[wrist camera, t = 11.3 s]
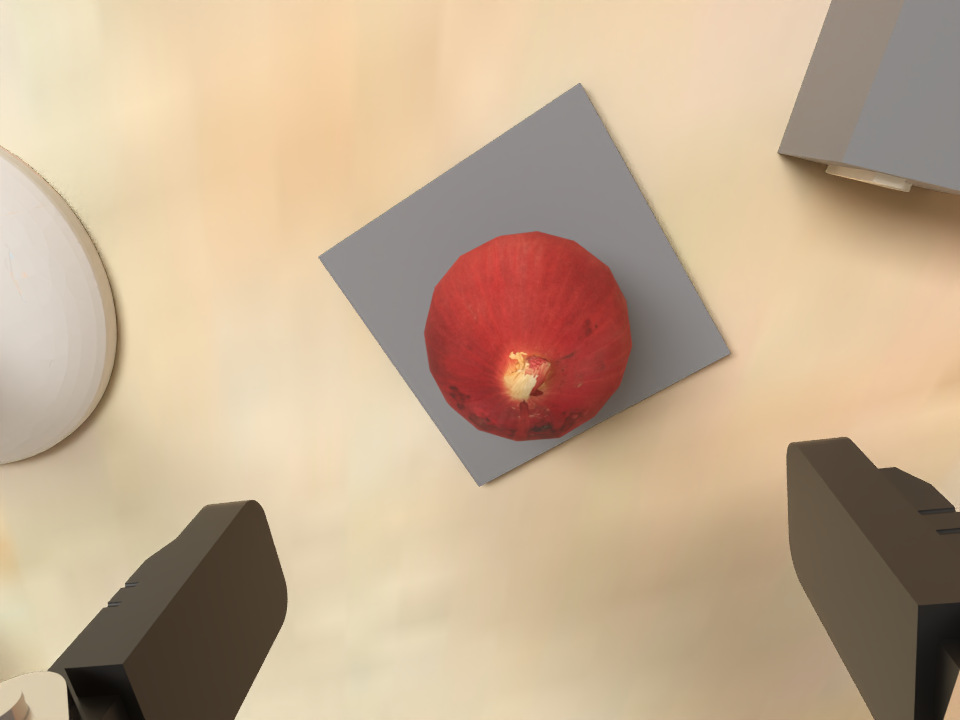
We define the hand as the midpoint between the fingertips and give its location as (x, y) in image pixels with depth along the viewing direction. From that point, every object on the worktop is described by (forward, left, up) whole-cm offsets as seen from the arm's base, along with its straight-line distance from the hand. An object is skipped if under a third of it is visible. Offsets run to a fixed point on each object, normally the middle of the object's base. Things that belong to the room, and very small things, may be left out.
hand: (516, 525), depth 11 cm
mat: (0, 0, -14) cm, 14 cm away
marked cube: (-13, 0, -14) cm, 19 cm away
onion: (0, 0, -14) cm, 14 cm away
